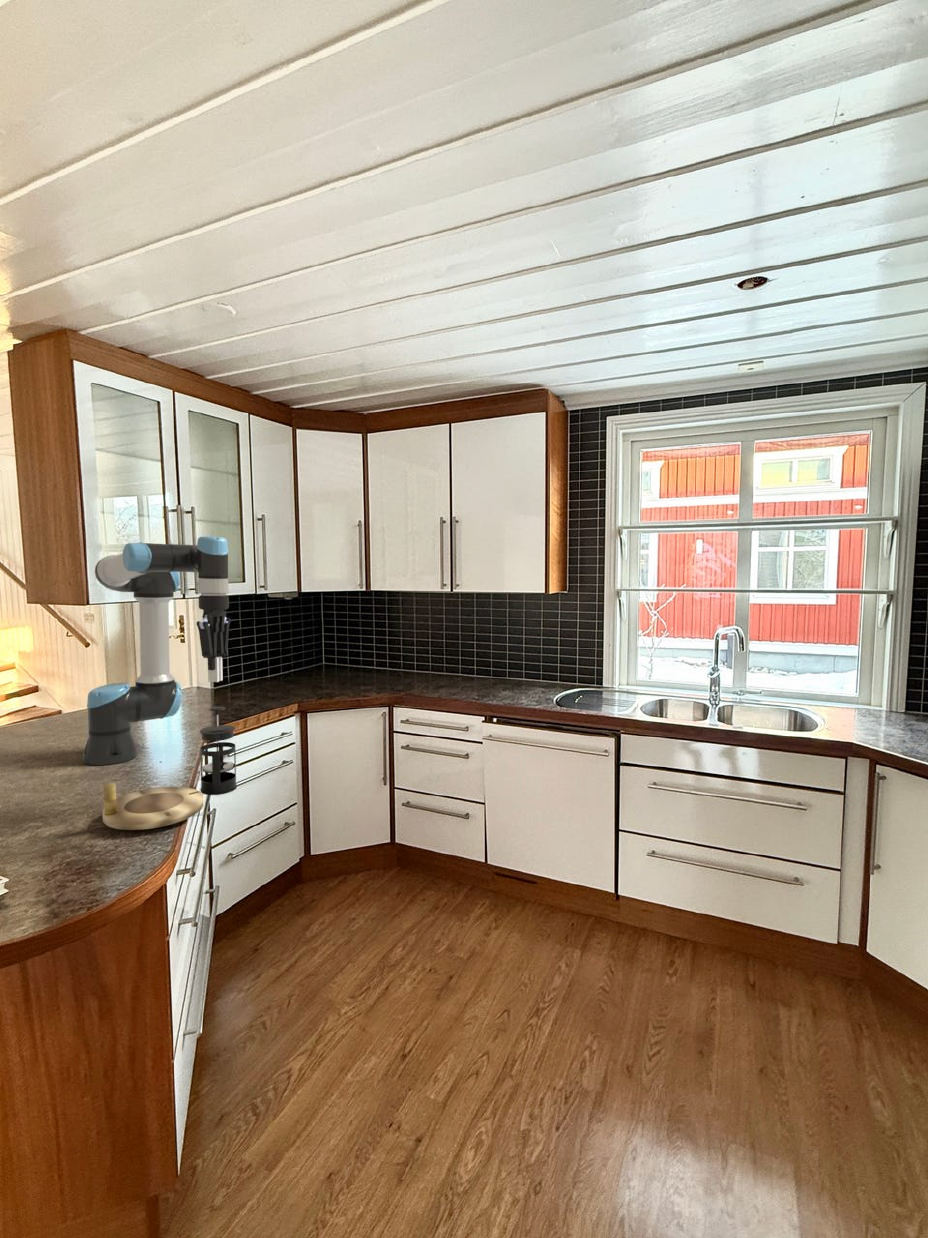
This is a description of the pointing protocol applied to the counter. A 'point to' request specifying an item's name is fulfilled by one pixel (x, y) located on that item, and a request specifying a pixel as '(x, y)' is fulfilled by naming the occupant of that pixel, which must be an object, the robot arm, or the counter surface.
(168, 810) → the turntable
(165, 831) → the counter surface
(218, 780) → the french press
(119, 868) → the counter surface
